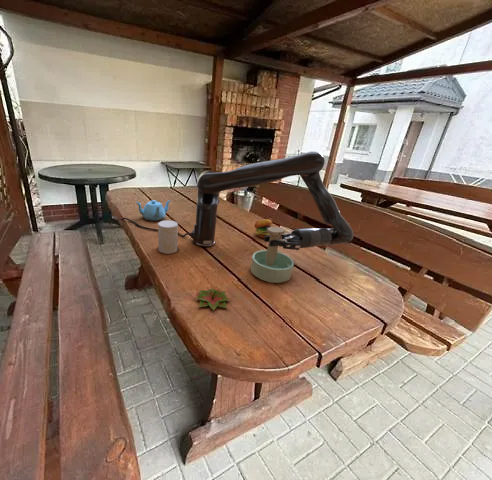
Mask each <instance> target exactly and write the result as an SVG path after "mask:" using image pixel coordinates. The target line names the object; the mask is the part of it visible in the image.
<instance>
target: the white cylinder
mask: <svg viewBox="0 0 492 480" xmlns="http://www.w3.org/2000/svg"><path fill="white" fill-rule="evenodd" d="M157 226H158V227H157V229H158V231H157V233H158V234H157V235H158V242H157V243H158V244H157V245H158V252H160V253H162V254H166V255H168V254H174V253H177V252H178V238H179V237H178V236H179V235H178V233H179V232H178V231H179V223H178V221H175V220H160V221H159V222H158V223H157Z"/></svg>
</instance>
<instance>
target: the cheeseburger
mask: <svg viewBox="0 0 492 480" xmlns="http://www.w3.org/2000/svg"><path fill="white" fill-rule="evenodd" d="M273 224H274V222H272V220H271V219H268V218H265V219H257V221H255V223H254V228H255V235H256V236H257V237H258V238H262V239H264V237H265V236H270V234H268V233H267V229H268V228H270V227H272V225H273Z"/></svg>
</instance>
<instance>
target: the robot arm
mask: <svg viewBox="0 0 492 480" xmlns="http://www.w3.org/2000/svg"><path fill="white" fill-rule="evenodd" d="M325 164H326V160H325V157H324V156H323V154H322V153H320V152H317V151H308V152H304V153H301V154H297V155H294V156H290V157H286V158H278V159H277V158H276V159H270V160H262V161H257V162H252V163H248V164H245V165H242V166H240V167H237V168H235V169H232V170H229V171H220V172H216V171H214V170H212V169H207V170H204V171H202V172H201V173H200V175H198V178H197V182H196V183H197V184H196V185H197V198H196V209H195V210H196V214H195V223H194V227H193V228H194V229H192V231H191V232H186V233H184V234H180V233H179V232H178V236H179V237H182V238H184V237H186V236H190V239H193V245H197V246H199V247H205V248H206V247H207V248H208V247H213V246H214V245H215V241H216V240H215V238H216V228H217V217H218V216H217V215H218V205H219V204H218V198H219V193H220V192H224V191H225V192H226V191H228V190H234V189H241V188H251V187H257V186H261V185H266V184H270V183H274V182H277V181H280V180H282V179H285V178H288V177H293V176H294V177H295V176H300V178H301V180H302V181H303V182H304V184H305V186H306V187H307V189H308V191H309V193H310V194H311V197H312V199H313V201H314V203H315V205H316V207H317V210H318V213H319V215H320V217H321V220H322V222H323V223H324V224H326V225H330V226H332V227H333V228H332V227H331V228H324V227H321V228H320V227H319V228H311V227H310V228H309V227H308V228H296V229H293V231H292V232H284V234H283V235H281V236H280V237H279V240H270V243H269V239H270V236H265V237H264V238H263V242H265V243H268V244H269V246H278V248H282V249H284V250H293V251H295V250H296V251H299V250H300V249H306V248H307V249H308V248H309V249H310V248H315V247H322V246H336V245H344V244H349V243H351V242H352V241H353V239H354V231H353V228H352V227H351V226H350V224H349V223H348V222H347V220H346V218H344V217H343V216H342V214H341V212H340V209H339V207H338V205H337V202H336V200H335V199H334V197H333V195H332V194H331V193H330V192H329V190H328V189H327V187H326V186H325V184H324V183H323V181H322V177H321V174H320V172H321V171H322V170H323V168H324V167H325ZM123 220H127V221H129V222H130V223H133V224H134V225H136V226H137V227H139V228H142V229H145V230H150V231H157V232H158V228H152V227H147V226H143V225H142V224H139V223H137V222H136V221H134V220H132V219H130V218H128V217H122V218H121V219H120V221H123Z"/></svg>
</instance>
